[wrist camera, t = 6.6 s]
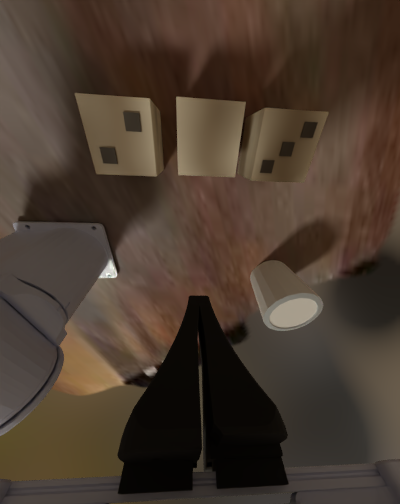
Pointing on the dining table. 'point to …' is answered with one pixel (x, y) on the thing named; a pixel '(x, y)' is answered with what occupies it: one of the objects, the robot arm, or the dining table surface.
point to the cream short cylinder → (283, 297)
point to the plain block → (208, 136)
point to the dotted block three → (280, 144)
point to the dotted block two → (122, 134)
